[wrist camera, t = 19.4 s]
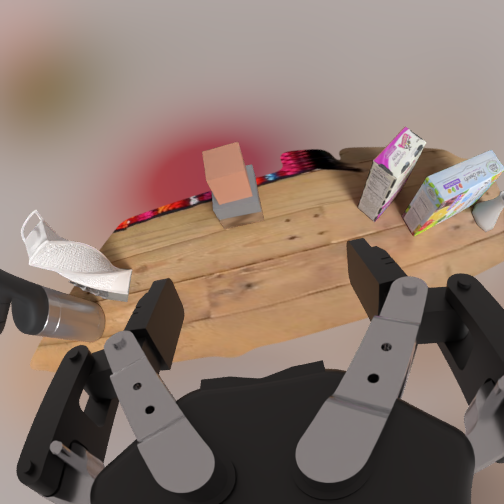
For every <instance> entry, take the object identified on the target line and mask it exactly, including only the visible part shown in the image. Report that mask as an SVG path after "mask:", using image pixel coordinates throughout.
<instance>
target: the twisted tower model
mask: <svg viewBox="0 0 504 504" xmlns="http://www.w3.org/2000/svg"><path fill="white" fill-rule="evenodd" d="M34 213H36V215H37V216H38V217H39V219H40V220H41V221H40V222H39V223H38V224H37V225H36V227H35V228H34V229H33V230H32V231H31V232H30V234H29V235H28V237H27V238H26V239H25V237H24V232H23V231H24V228H25V225H26V223H27V222H28V220H29V219H30V217H31V216H32V215H33V214H34ZM21 237H22V239H23V241H24V243H25V244H26V249H27V252H28V256H29V260H30V261H29V265H31V266H35V267H38V268H43V269H47V270H51V271H56V272H57V273H59V274H60V275H62V276H63V277H65V278H68V279H69V280H71V281H74V282H71V281H69V283H72V284H74V286H77V287H80V288H81V289H82V290H83V291H87V292H90V293H92V294H95V295H96V296H101V297H102V298H104V299H110V300H117V301H124V302H127V301H128V294H129V287H130V281H131V275H132V269H119V268H117V267H115V266H113V265H112V264H111V262H110V261H109V260H108V259H107V258H106V257H105V256H104V255H103V254H102V253H101V252H100V251H99V250H97V249H96V248H94V247H92V246H90V245H88V244H85V243H81V242H74V241H68V240H66V239H64V238H62V237H60V236H58V235H57V234H56V232H55V231H54V230H53V229H52V228H51V227H50V226H49V225H48V224H47V223H46V222H45V221H44V219H43V218H42V217H41V215H40V214H39V212H38V211H37V210H35V211H33V212H32V213H31V214H30V215H29V216H28V217H27V219H26V220H25V222H24V224H23V226H22V229H21Z"/></svg>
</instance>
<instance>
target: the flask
mask: <svg viewBox="0 0 504 504" xmlns="http://www.w3.org/2000/svg"><path fill="white" fill-rule="evenodd" d="M503 208H504V191H501V192H500V195H499V196H498V197H496V198H494V199H492V200H488V201H484V202H480V203H477V204H475V206H474V209H473V212H472V214H473V216H474V218H475V221H476V223H477V225H478V226H480V227H481V228H482V229H483V230H484V231H485V232H487V231H489V230H491V229H493V227H494V225H495V223H496V221H497V218H498V216H499V214H500V212H501V211H502V209H503Z"/></svg>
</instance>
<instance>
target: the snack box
mask: <svg viewBox="0 0 504 504" xmlns="http://www.w3.org/2000/svg"><path fill="white" fill-rule="evenodd" d="M503 171H504V166H503V165H502V164H501V162H500V161H499V160H498V158H497V156H496V155H495V154H494V152H493V151H492V150H490V151H487V152H485V153H482V154H480V155H478V156H475V157H473V158H470V159H468V160H466V161H463V162H461V163H459V164H456V165H454V166H451V167H449V168H447V169H444V170H442V171H440V172H437V173H435V174H432V175H430V176H428V177H426V179H425V181H424V182H423V184H422V186H421V187H420V189H419V190H418V192H417V194H416V195H415V197H414V198H413V200H412V202H411V203H410V205H409V206H408V208H407V209H406V211H405V212H404V214H403V215H402V218H403V219H404V221H405V222H406V224H407V226H408V228H409V229H410V231H411V233H412V235H413V236H416V235H418V234H420V233H422V232H423V231H425V230H427V229H429V228H431V227H433V226H435V225H437V224H438V223H440V222H442V221H444V220H446V219H448V218H450V217H451V216H453V215H455V214H457V213H459V212H461V211H462V210H464V209H466V208H468V207H470V206H471V205H473V204H475V203H476V202H477V201H478V200H479V198H480V197H481V196H482V195H483V194H484V193H485V192H486V191H487V190H488V189H489V187H490V186H491V185H492V184H493V183H494V182H495V181H496V179H497V178H498V177H499V176H500V175H501V174H502V173H503Z"/></svg>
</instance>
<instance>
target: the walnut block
mask: <svg viewBox="0 0 504 504" xmlns="http://www.w3.org/2000/svg"><path fill="white" fill-rule="evenodd" d="M257 189H258V188H257ZM258 195H259V193H258ZM259 201H260V197H259ZM260 207H261V202H260ZM259 221H264V216H263V212H262V207H261V212H256V213H251V214H246V215H241V216H236V217H231V218H226V219H221V220H220V223H221V224H222V226H223V227H224V229H228V228H232V227H237V226H241V225H246V224H250V223H255V222H259Z"/></svg>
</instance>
